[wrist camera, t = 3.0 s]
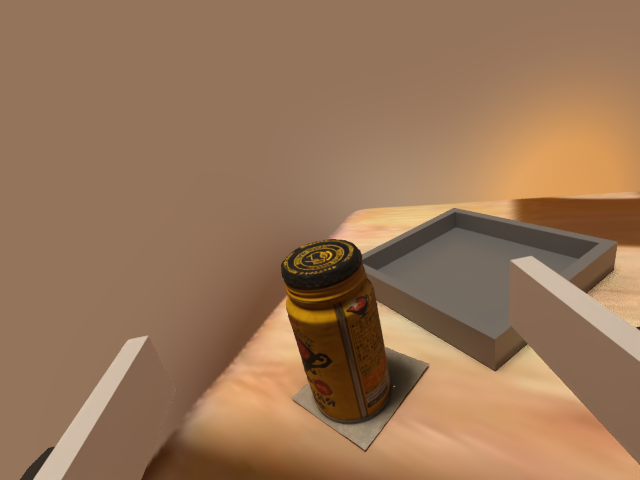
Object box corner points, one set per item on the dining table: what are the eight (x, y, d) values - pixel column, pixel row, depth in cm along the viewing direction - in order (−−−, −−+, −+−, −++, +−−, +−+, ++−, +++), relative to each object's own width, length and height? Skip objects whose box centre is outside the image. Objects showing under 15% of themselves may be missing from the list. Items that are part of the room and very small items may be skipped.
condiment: (291, 400, 27) (246, 269, 22) (357, 336, 32) (332, 217, 28) (365, 453, 22) (328, 298, 17) (429, 367, 27) (414, 229, 22)
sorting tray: (455, 228, 48) (453, 207, 46) (613, 269, 33) (617, 241, 32) (351, 284, 40) (346, 262, 39) (495, 370, 26) (495, 339, 24)
